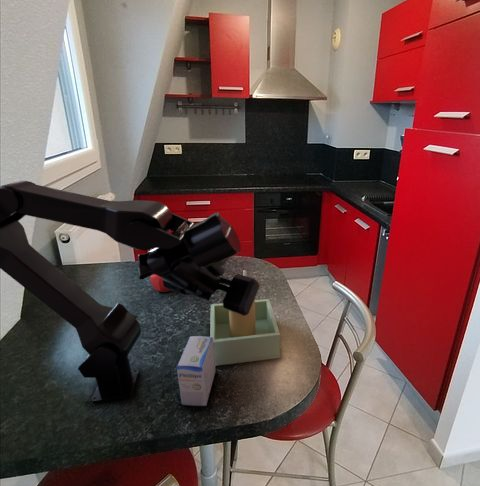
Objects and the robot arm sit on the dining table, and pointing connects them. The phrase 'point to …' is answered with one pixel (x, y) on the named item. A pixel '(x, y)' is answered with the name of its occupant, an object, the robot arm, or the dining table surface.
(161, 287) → the apple
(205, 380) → the medicine box
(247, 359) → the bin
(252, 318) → the straw cup
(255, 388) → the dining table surface
